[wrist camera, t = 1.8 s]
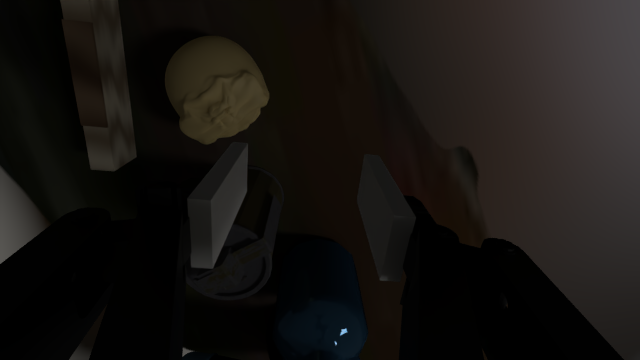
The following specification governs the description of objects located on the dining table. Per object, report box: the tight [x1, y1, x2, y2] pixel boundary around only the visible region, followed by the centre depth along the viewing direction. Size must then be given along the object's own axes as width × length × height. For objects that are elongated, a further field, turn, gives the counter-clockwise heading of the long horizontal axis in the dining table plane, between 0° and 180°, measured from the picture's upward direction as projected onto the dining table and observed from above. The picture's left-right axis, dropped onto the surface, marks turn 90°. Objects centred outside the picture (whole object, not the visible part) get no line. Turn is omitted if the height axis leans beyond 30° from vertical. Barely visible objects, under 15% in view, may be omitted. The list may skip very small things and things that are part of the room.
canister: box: [186, 166, 284, 300], centre depth 42 cm, size 11×10×20 cm
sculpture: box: [165, 36, 269, 144], centre depth 40 cm, size 11×12×11 cm
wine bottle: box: [272, 238, 368, 360], centre depth 43 cm, size 14×13×30 cm
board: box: [60, 0, 137, 171], centre depth 41 cm, size 24×3×6 cm, turn 174°
